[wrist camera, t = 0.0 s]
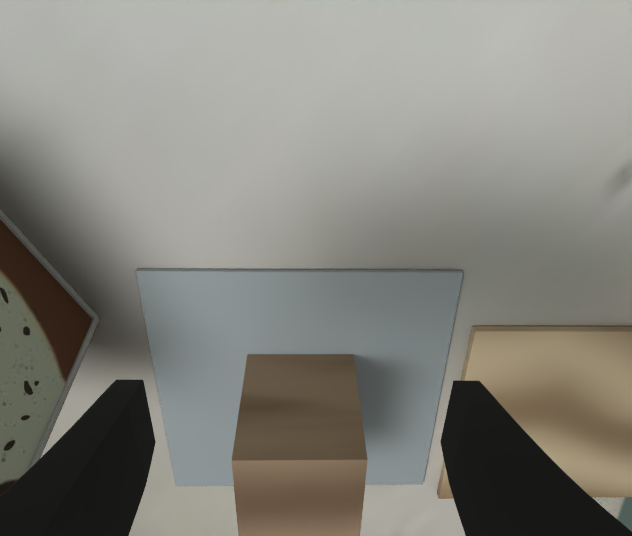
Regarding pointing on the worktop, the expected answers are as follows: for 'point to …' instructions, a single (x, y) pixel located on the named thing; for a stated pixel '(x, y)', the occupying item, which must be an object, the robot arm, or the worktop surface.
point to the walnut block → (299, 447)
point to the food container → (34, 349)
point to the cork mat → (563, 396)
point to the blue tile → (298, 338)
